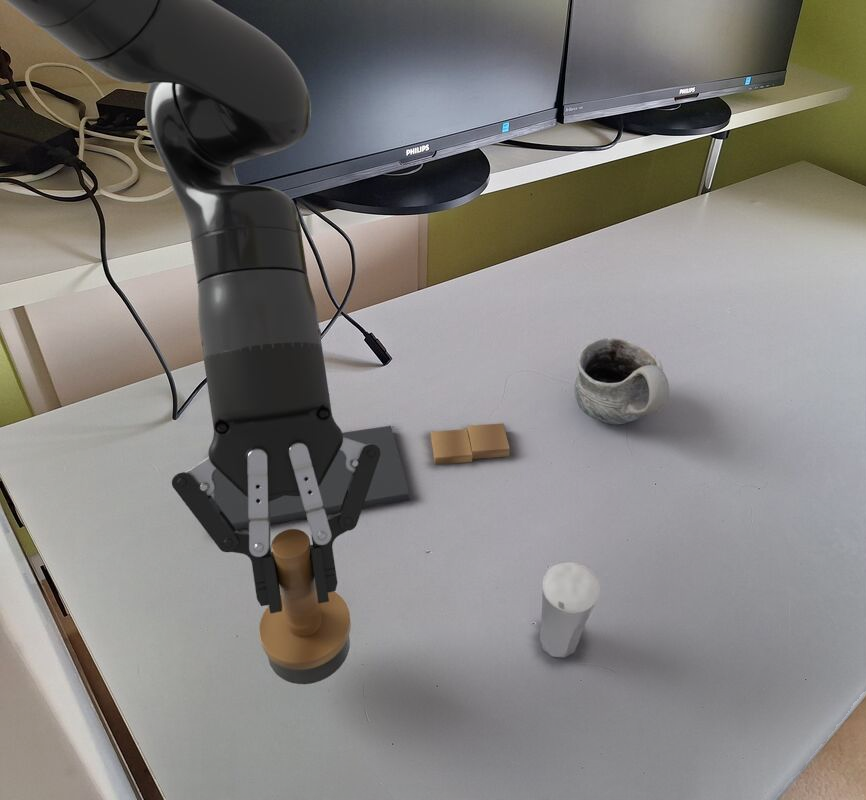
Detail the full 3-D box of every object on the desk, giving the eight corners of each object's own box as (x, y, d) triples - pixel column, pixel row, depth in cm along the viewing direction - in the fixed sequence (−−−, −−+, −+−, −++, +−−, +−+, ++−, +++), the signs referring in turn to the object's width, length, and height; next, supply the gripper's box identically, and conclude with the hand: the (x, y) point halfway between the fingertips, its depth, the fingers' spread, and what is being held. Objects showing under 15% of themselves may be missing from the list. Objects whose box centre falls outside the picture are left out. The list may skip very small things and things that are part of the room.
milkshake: (520, 660, 64) (532, 591, 57) (544, 610, 68) (557, 540, 61) (571, 682, 63) (589, 614, 56) (591, 630, 67) (610, 561, 60)
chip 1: (434, 465, 80) (434, 457, 79) (430, 439, 83) (430, 431, 82) (472, 462, 81) (472, 454, 80) (466, 436, 84) (467, 428, 83)
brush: (269, 697, 55) (241, 595, 46) (261, 621, 59) (235, 515, 50) (359, 674, 57) (348, 572, 48) (345, 602, 61) (333, 497, 52)
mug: (614, 373, 94) (628, 306, 88) (686, 433, 87) (708, 365, 81) (553, 399, 90) (564, 331, 83) (624, 465, 83) (643, 396, 76)
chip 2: (472, 459, 81) (472, 451, 80) (467, 433, 84) (467, 425, 83) (508, 456, 82) (509, 448, 81) (502, 431, 85) (503, 423, 84)
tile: (216, 533, 70) (214, 526, 70) (214, 458, 77) (212, 451, 77) (409, 499, 76) (409, 493, 75) (391, 432, 83) (390, 425, 82)
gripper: (137, 353, 45) (178, 643, 45) (373, 327, 49) (412, 593, 49) (160, 367, 52) (195, 617, 52) (364, 343, 56) (398, 575, 56)
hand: (300, 604), depth 50 cm, fingers closed on brush, 2 cm apart
